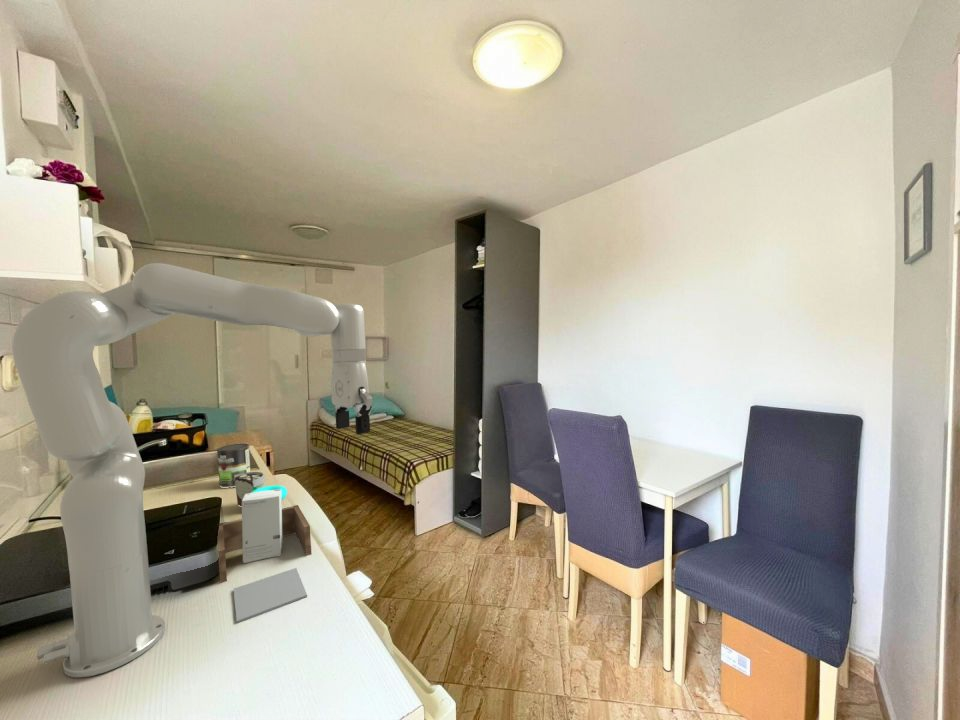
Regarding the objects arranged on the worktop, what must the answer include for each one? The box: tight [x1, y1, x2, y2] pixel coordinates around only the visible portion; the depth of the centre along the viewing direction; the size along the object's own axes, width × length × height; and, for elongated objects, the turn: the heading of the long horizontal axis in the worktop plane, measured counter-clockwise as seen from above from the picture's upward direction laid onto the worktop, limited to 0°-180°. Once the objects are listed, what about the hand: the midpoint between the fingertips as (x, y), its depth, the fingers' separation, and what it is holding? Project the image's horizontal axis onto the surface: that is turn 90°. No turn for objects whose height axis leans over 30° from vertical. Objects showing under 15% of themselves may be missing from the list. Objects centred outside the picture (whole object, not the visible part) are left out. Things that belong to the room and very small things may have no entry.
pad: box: [232, 567, 308, 624], centre depth 79 cm, size 12×12×1 cm
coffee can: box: [216, 443, 251, 488], centre depth 147 cm, size 10×10×14 cm
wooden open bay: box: [217, 504, 312, 584], centre depth 95 cm, size 18×16×7 cm
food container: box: [234, 471, 267, 506], centre depth 125 cm, size 12×6×10 cm, turn 58°
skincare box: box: [241, 489, 283, 564], centre depth 95 cm, size 8×6×15 cm
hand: (352, 430), depth 91 cm, fingers open, 9 cm apart
